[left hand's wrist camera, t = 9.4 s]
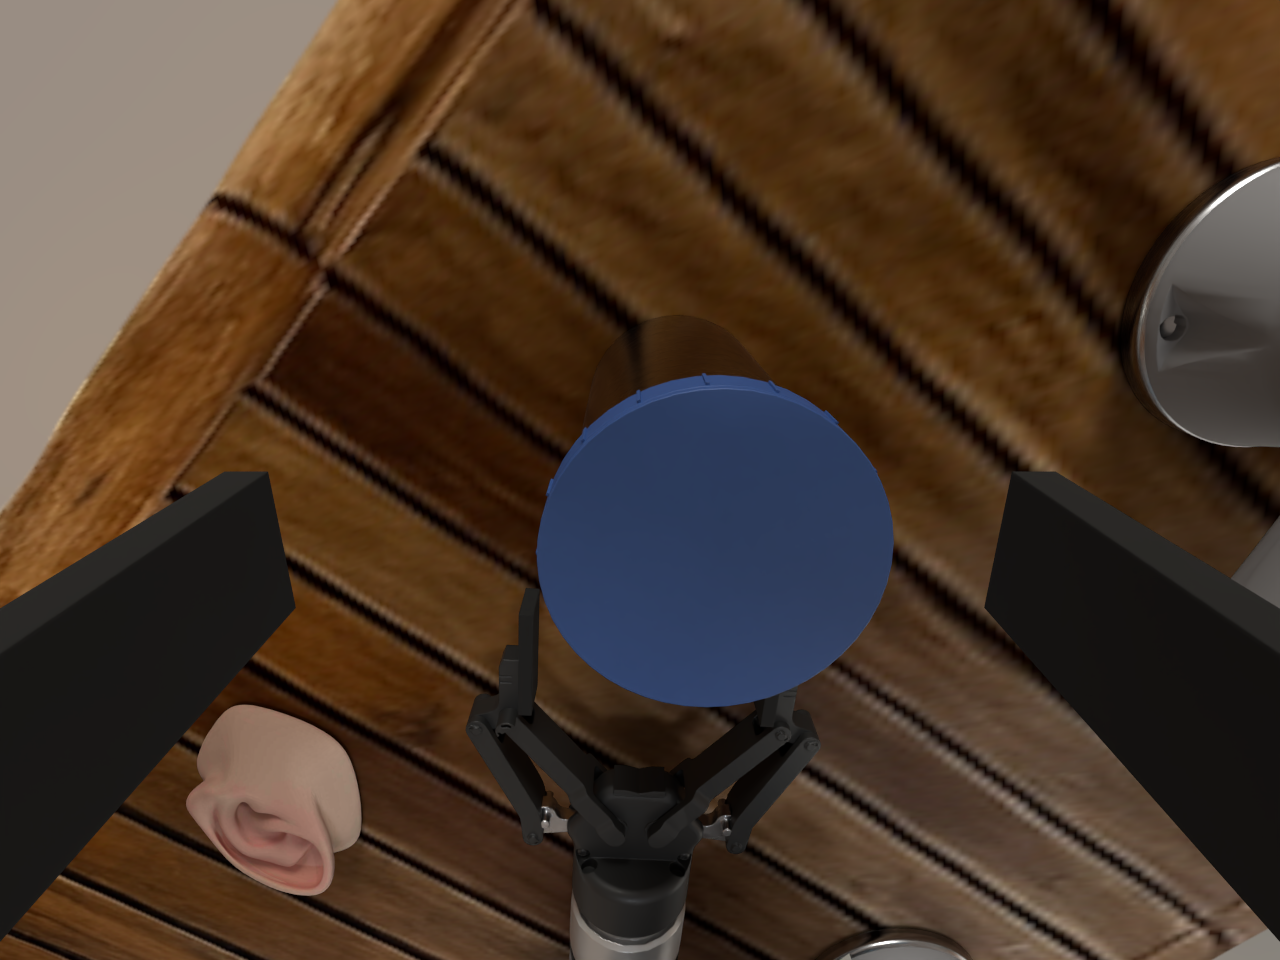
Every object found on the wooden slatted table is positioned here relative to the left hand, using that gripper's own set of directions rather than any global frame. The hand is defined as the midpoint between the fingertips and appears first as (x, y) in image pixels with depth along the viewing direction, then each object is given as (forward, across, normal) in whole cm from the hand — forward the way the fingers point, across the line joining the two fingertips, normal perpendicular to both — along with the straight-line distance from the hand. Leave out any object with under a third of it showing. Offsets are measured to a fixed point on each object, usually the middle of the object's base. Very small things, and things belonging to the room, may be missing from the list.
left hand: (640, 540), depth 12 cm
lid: (+8, -2, +5) cm, 10 cm away
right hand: (+21, -1, +14) cm, 26 cm away
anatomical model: (+27, +26, +32) cm, 49 cm away
